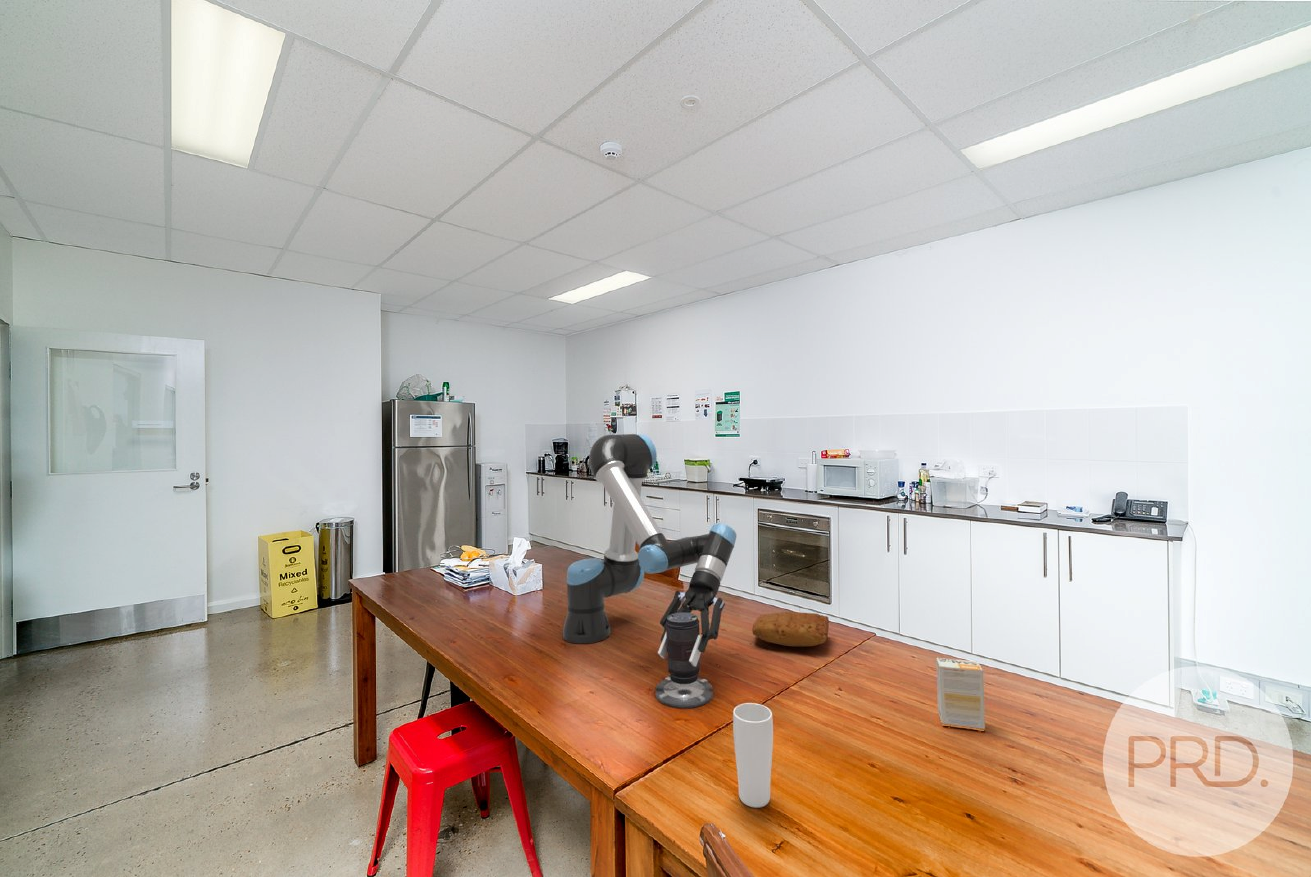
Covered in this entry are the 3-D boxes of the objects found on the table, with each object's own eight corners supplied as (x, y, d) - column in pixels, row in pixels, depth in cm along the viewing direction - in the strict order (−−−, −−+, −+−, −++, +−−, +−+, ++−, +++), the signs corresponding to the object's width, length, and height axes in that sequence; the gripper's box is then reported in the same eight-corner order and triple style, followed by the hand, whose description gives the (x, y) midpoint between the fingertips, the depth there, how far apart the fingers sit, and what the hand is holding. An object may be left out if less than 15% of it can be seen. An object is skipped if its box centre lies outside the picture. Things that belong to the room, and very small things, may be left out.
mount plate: (644, 691, 132) (644, 685, 132) (688, 676, 140) (688, 670, 140) (679, 714, 121) (679, 708, 121) (725, 696, 129) (724, 689, 129)
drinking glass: (730, 787, 95) (728, 703, 95) (767, 784, 96) (766, 701, 96) (739, 814, 89) (737, 723, 88) (779, 811, 89) (777, 721, 89)
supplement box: (979, 721, 115) (978, 660, 115) (985, 733, 111) (984, 670, 111) (937, 715, 118) (935, 656, 118) (941, 727, 113) (939, 665, 113)
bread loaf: (833, 638, 164) (832, 612, 164) (826, 659, 148) (825, 631, 148) (761, 629, 173) (760, 604, 173) (748, 648, 158) (747, 621, 158)
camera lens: (701, 671, 134) (699, 611, 134) (700, 686, 126) (698, 622, 126) (668, 670, 135) (667, 611, 135) (666, 685, 127) (664, 622, 127)
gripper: (748, 590, 137) (721, 676, 124) (679, 579, 149) (647, 657, 136) (739, 574, 133) (709, 662, 119) (668, 564, 145) (634, 643, 131)
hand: (676, 659), depth 128 cm, fingers closed on camera lens, 8 cm apart
